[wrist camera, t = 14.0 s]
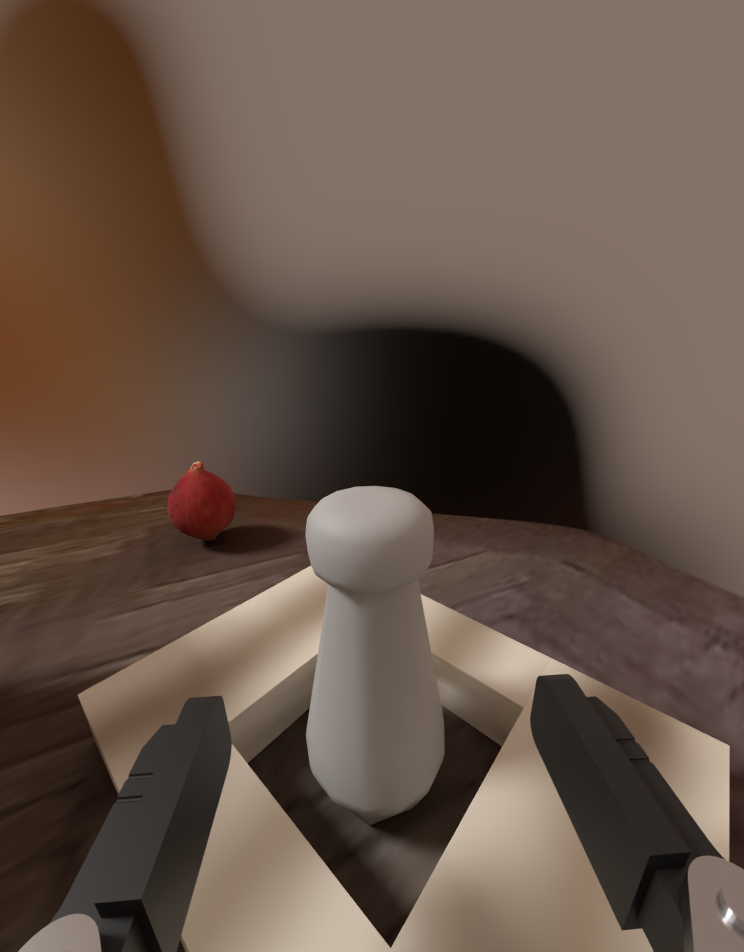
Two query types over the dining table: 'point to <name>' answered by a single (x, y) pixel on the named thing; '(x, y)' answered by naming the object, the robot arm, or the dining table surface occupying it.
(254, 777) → the hole board
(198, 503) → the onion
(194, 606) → the dining table surface
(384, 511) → the salt shaker
